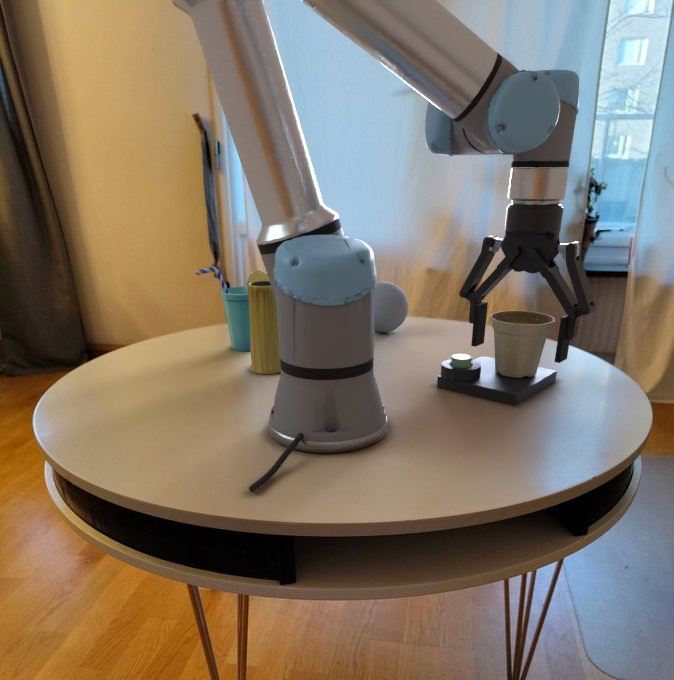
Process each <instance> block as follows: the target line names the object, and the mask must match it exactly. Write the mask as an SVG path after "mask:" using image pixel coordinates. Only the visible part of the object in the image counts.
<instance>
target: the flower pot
mask: <svg viewBox="0 0 674 680" xmlns="http://www.w3.org/2000/svg"><path fill="white" fill-rule="evenodd" d="M489 319H490V320H491V325H492V326H491V328H492V329H493V342H494V347H493V348H494V358H495V371H496V372H499V373H500V374H501V375H503V376H506V377H513V378H522V377H524V376H528V377H532V376H534V375H535V374H536V373H537V369H538V367H539V365H540V362H541V357H542V355H543V351H544V347H545V345H546V341H547V338H548V334H549V333H550V332H551V329H552V327H553V325H554V324H555V323H556V318H555V317H554V316H552V315H550V314H546V313H543V312H537V311H530V310H501V311H496V312H493V313H491V314H490V315H489Z"/></svg>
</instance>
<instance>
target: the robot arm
mask: <svg viewBox="0 0 674 680" xmlns="http://www.w3.org/2000/svg"><path fill="white" fill-rule="evenodd" d="M299 1H300V2H301V3H303V4H304V5H305V6H306V7H308V8H309V9H310V10H311V11H312V12H314V13H316V14H317V15H318V16H319V17H321V18H322V19H323V20H325V21H326V22H327V23H328V24H330V25H331V26H332V27H333V28H335V29H336V30H337V31H338V32H340V33H341V34H343V36H344V37H346V38H348V39H349V40H350V41H351V42H353V43H354V44H355V45H356V46H358V47H359V48H360V49H362V50H363V51H364V52H365V53H367V54H368V55H369V56H370V57H372V58H373V59H374V60H376V61H377V62H379V63H380V64H381V65H382V66H383V67H385V68H386V69H387V70H389V71H390V72H391V73H392V74H394V75H395V76H396V77H397V78H399V79H400V80H401V81H402V82H404V83H405V84H407V85H408V86H409V87H410V88H412V89H413V90H414V91H416V92H417V93H418V94H419V95H421V96H422V97H423V98H425V100H427V101H428V102H427V106H426V110H425V116H424V117H425V118H424V139H425V145H426V147H427V149H428V151H429V152H430V153H431V154H432V155H437V156H438V155H439V156H440V155H442V156H449V157H454V156H487V155H489V156H491V155H503V156H506V155H507V156H511V163H510V168H511V169H510V175H509V176H510V177H509V185H508V192H507V198H508V200H510V201H511V203H509V204H508V206H506V212H505V221H504V222H505V223H504V236H503V238H499V237H498V236H497V235H489V236H485V237H484V238H483V240H482V245H481V251H480V253H479V255H478V257H477V258H476V260H475V262H474V264H473V266H472V268H471V270H470V272H469V273H468V275H467V277H466V279H465V281H464V283H463V285H462V286H461V288H460V290H459V293H458V295H459V297H460V298H462V299H464V298H465V300H468V302H469V311H468V312H469V314H468V315H469V316H468V322H469V324H472V332H471V333H472V334H471V345H470V346H471V347H475V348H476V347H478V346H481V345H483V344H485V336H486V327H487V326H486V325H487V315H488V306H489V302H487V301H485V299H486V297H487V296H488V295H489V294H490V293H491V292H492V291H493V290H494V289H495V288H496V287H497V285H499V283H500V282H501V281H502V280H504V278H505V277H506V276H507V275H508V274H509V273H510V272H511V271H512V270H513V271H514V272H515V273H516V272H517V273H521V272H525V273H528V274H538V273H539V274H540V276H541V277H542V278H544V279H545V281H546V283H547V284H548V285H549V287H550V289H551V291H552V292H553V294H554V296H555V297H556V300H558V302H559V304H560V305H561V307H562V309H563V311H564V312H565V314H566V315H565V314H564V315H563V316H560V320H559V321H560V322H559V328H558V336H557V343H556V349H555V350H556V351H555V356H554V363H557V364H560V363H563V362H564V361H566V360H567V359H568V354H569V348H570V343H571V341H572V340H575V339H576V338H577V336H578V333H579V327H580V320H581V317H583V316H587V315H589V314H591V313H594V312H595V311H596V309H597V306H596V302H595V299H594V296H593V293H592V289H591V285H590V283H589V280H588V277H587V273H586V270H585V266H584V263H583V260H582V249H583V248H582V246H583V245H582V242H581V241H574V242H567V243H561V240H560V234H561V229H562V222H563V215H564V208H565V207H564V206H563V204H561V203H560V202H561V201H564V199H565V198H566V193H567V185H568V177H569V170H570V161H571V155H572V149H573V142H574V135H575V129H576V124H577V123H576V121H577V117H578V114H579V103H580V92H581V91H580V88H581V87H580V83H581V79H580V76H579V74H578V73H577V72H575V71H574V70H569V69H540V70H530V69H528V70H526V69H521V70H520V69H518V68H517V67H516V66H515V65H513V63H511V62H510V61H509V60H508V59H506V58H505V57H504V56H503V55H501V53H499V52H498V51H496V50H495V49H494V48H492V46H490V45H489V44H487V42H486V41H484V39H482V38H481V37H480V36H478V34H476V33H475V32H474V31H473V30H472V29H471V28H469V27H468V26H467V25H466V24H464V23H463V21H461V20H460V19H459V18H458V17H456V16H455V15H454V14H453V13H452V12H451V11H449V9H447V8H446V7H445V6H443V4H441V2H440V1H438V0H299ZM171 3H172V5H173V6H174V7H175V8H177V9H178V10H180V11H182V12H183V13H185V14H186V15H188V16H189V17H190V18H191V21H192V24H193V26H194V29H195V33H196V35H197V38H198V41H199V44H200V47H201V50H202V53H203V56H204V59H205V62H206V66H207V68H208V70H209V74H210V76H211V80H212V82H213V85H214V88H215V91H216V94H217V96H218V100H219V102H220V106H221V108H222V111H223V115H224V117H225V121H226V123H227V127H228V129H229V132H230V135H231V138H232V140H233V144H234V146H235V149H236V153H237V155H238V157H239V162H240V164H241V167H242V170H243V172H244V176H245V178H246V182H247V184H248V188H249V191H250V193H251V196H252V200H253V203H254V205H255V208H256V211H257V214H258V217H259V220H260V223H261V228H260V231H259V234H258V235H257V238H256V241H255V242H256V245H257V248H258V251H259V253H260V257H261V260H262V262H263V265H264V269H265V271H266V272H265V273H267V274H268V277H269V280H270V283H271V288H272V291H273V293H274V296H275V300H276V305H277V314H278V331H279V349H280V366H281V372H280V375H279V380H278V384H277V386H276V392H275V397H274V403H273V405H272V407H271V409H270V412H269V420H268V422H269V423H268V424H269V425H268V426H269V433H270V434H269V435H270V436H271V437H272V439H273V440H275V441H276V442H277V443H279V444H280V445H283V446H285V447H286V448H285V450H284V451H283V452H282V453H281V455H280V456H279V457H278V459H277V460H276V461H275V462H274V464H273V465H272V466H271V467H270V468H269V469H268V471H267V472H265V474H263V475H262V477H260V478H259V479H257V480H256V481H255V482H254V483H253V484H251V485H249V487H248V490H249V492H251V493H254V492H256V491H257V490H259V488H261V487H263V486H264V485H265V484H266V483H267V482H268V481H269V480H271V479H272V478H273V476H274V475H275V474H276V473H277V472H278V471H279V469H280V468H281V467H282V466H283V464H284V463H285V462H286V460H287V459H288V458H289V456H290V455H291V454H292V453H293V451H294V450H297V451H301V452H308V453H317V454H318V453H319V454H321V453H322V454H324V453H325V454H331V453H344V452H351V451H355V450H359V449H363V448H366V447H368V446H371V445H374V444H375V443H377V442H379V441H380V440H381V439H382V438H383V437H385V435H386V434H387V431H388V416H387V411H386V408H385V405H384V404H383V401H382V396H381V393H380V390H379V389H380V388H379V386H378V382H377V379H376V375H375V371H374V370H375V369H374V367H375V363H374V361H375V360H374V359H375V358H374V357H375V331H374V305H375V283H377V268H376V262H375V255H374V251H373V249H372V248H371V246H370V245H369V244H368V243H366V242H365V241H363V240H361V239H357V238H354V237H353V238H351V237H349V236H346V235H345V233H344V230H343V226H342V223H341V220H340V216H339V214H338V212H336V211H334V210H333V209H331V208H329V207H327V206H326V205H325V204H324V202H323V199H322V194H321V192H320V188H319V185H318V182H317V178H316V174H315V171H314V167H313V164H312V162H311V161H312V160H311V158H310V157H311V156H310V155H309V150H308V148H307V143H306V141H305V137H304V133H303V131H302V127H301V123H300V120H299V116H298V113H297V110H296V106H295V103H294V100H293V97H292V93H291V89H290V86H289V83H288V79H287V76H286V73H285V69H284V65H283V62H282V59H281V56H280V52H279V49H278V44H277V42H276V38H275V35H274V31H273V27H272V25H271V21H270V18H269V14H268V11H267V7H266V4H265V1H264V0H171ZM500 249H501V251H502V253H503V256H504V258H503V259H502V260H501V261H500V262H499V263H498V264H497V265H496V268H495V269H494V270H493V271H492V272H491V273H490V274H489V275H488V277H487V278H486V279H485V280H484V281H483V282H482V283H481V281H482V279H483V277H484V276H485V273H486V272H487V270H488V268H489V266H490V265H491V263H492V261H493V259H494V257H495V255H496V253H498V252H499V251H500ZM559 253H560V254H561V257H562V258H563V260H565V265H566V269H567V272H568V275H569V278H570V282H571V284H572V288H573V291H574V292H573V291H572V290H571V288H570V287H569V285H568V283H567V281H566V279H565V278H564V277H563V275H562V273H561V272H560V267H559V265H558V264H557V262H556V261H555V258H556V257H557V256H558V255H559ZM480 283H481V284H480ZM479 284H480V285H479ZM574 294H575V295H574Z"/></svg>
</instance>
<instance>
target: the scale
mask: <svg viewBox="0 0 674 680" xmlns="http://www.w3.org/2000/svg"><path fill="white" fill-rule="evenodd" d="M451 360H452V358H451V359H445V360H443V361H441V365H440V366H441V367H440V375H438V376H437V382H436V383H437V384H436V387H437V388H441V389H443V390H449V391H453V392H457V393H461V394H466V395H468V396H469V395H470V396H473V397H476V398H477V397H478V398H482V399H485V400H491V401H495V402H499V403H503V404H507V405H511V406H515V407H516V406H517V405H520V404H521V403H522V402H524V401H525V400H527V399H529V398H530V397H532V396H533V395H535V394H536V393H538V392H540V391H542V390H543V389H545V388H546V387H548V386H550V385H552V384H553V383H554V382H556V381H557V373H558V370H556V369H551V368H545V367H541V366H538V369H537V373H536V374H535V375H534V376H532V377H528V376H524V377H522V378H513V377H506V376H503V375H501V374H500V373H499V372H496V371H495V357H490V356H486V355H485V356H484V355H481V356H479V357H477V358H475V359H472V362H471V367H468V368H457V367H452V366H451Z"/></svg>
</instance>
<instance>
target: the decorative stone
mask: <svg viewBox="0 0 674 680" xmlns="http://www.w3.org/2000/svg"><path fill="white" fill-rule="evenodd" d="M408 313H409V300H408V297H407V295H406V293H405V292H404V290H403V289H402V288H401V287H400V286H398V285H397V284H395V283H393V282H390V281H378V282H376V283H375V305H374V332H376V333H384V334H385V333H390V332H393V331H395V330H397V329H398V328H400V327H401V326H402V325H403V323H404V322H405V320H406V318H407V316H408Z"/></svg>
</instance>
